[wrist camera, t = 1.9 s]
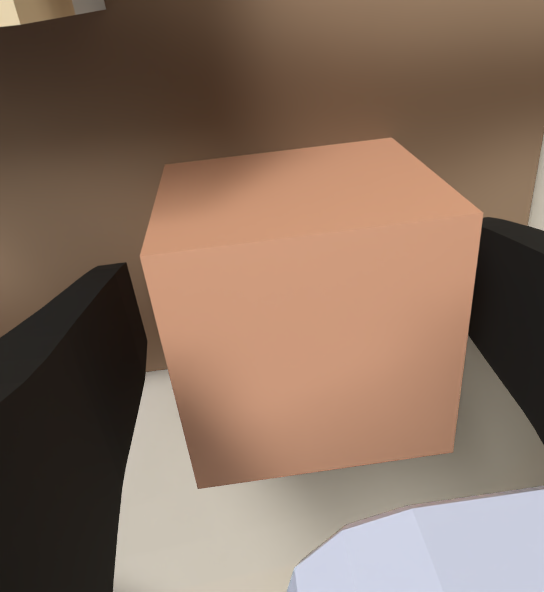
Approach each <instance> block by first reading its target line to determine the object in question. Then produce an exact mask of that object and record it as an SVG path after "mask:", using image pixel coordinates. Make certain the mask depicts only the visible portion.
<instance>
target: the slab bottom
mask: <svg viewBox="0 0 544 592" xmlns="http://www.w3.org/2000/svg"><path fill="white" fill-rule="evenodd" d="M72 3H73V7H74V11H75V15H78V14H83V13H89V12H94V11H100V10H106V7H105V2H104V0H72Z"/></svg>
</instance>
